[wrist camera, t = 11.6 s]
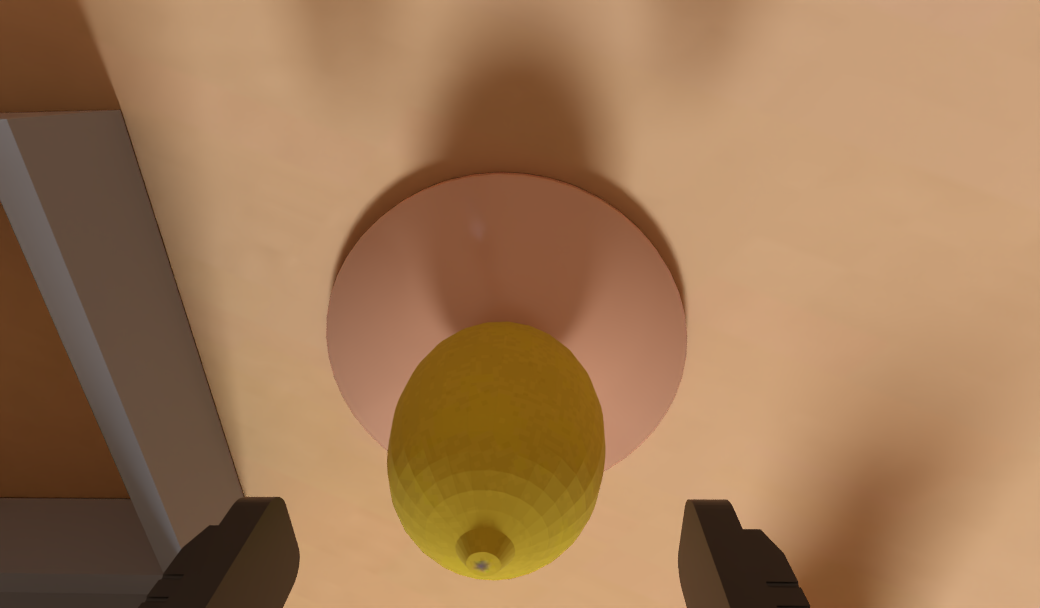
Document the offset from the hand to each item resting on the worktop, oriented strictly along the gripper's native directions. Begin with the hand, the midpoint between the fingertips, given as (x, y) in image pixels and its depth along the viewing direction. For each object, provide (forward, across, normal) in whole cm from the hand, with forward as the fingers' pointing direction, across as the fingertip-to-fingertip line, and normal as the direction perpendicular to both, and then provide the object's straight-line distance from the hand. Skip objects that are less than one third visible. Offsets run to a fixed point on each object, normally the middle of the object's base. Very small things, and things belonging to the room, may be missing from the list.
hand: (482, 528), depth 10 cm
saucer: (+8, 0, 0) cm, 8 cm away
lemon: (+8, 0, 0) cm, 8 cm away
